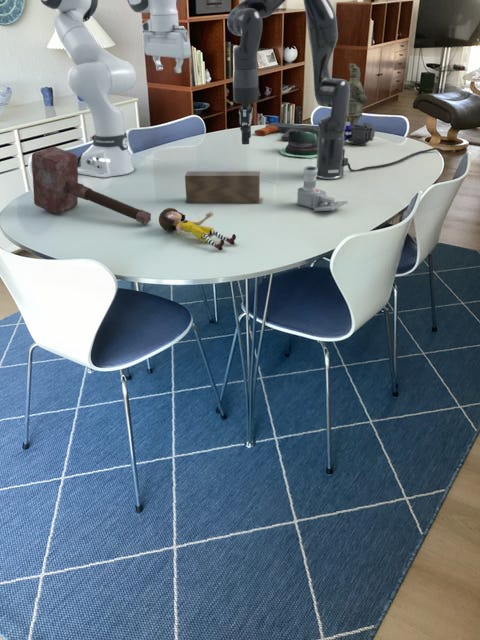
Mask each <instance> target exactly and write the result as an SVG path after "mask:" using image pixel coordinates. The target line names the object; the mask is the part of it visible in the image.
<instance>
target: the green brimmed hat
mask: <svg viewBox="0 0 480 640" xmlns="http://www.w3.org/2000/svg"><path fill="white" fill-rule="evenodd" d="M287 142H288V143H287V145H286V146H285V147H283V148H281V149H280V150H279V153H280V154H282V155H285V156H289V157H296V158H297V157H298V158H307V159H309V158H310V159H311V158H313V159H314V158H317V148H318V130H316V129H311V128H298V129H294V130H291V131H289V140H287Z"/></svg>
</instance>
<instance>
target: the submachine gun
mask: <svg viewBox="0 0 480 640" xmlns="http://www.w3.org/2000/svg"><path fill="white" fill-rule="evenodd" d="M318 126H319V125H311V124H300V123H299V124H297V123H285V122H268V124H266V125H265V126H264V127H262V128H259V129H256V130H254V134H255V135H257V136H266V135H268V134H272V133H276V132H277V133H279V132H280V133H284V134H282V135H281V137H280V140H281V141H288V140H289V131H291V130H294V129H298V128H311V129H316V130H318V128H319V127H318Z"/></svg>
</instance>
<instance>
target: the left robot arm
mask: <svg viewBox="0 0 480 640" xmlns="http://www.w3.org/2000/svg"><path fill="white" fill-rule="evenodd" d="M126 1H127V4H128V6H129V7H130V8H131V10H132V11H133V12H135V13H137V14H138V13H139V14H149V13H150V15H149V17H150V18H149V19H147V20H146V21H144V22H142V23H141V31H142V32H143V33H142V45H143V51H144V53H145V55H146V56H151V57H152V61H153V62H154V64H155V70H156V71H157V72H162V71H163V70H164V65H163V64H162V62H161V57H163V58H170V59H171V58H172V59H174V60H175V62H176V64H175V66H174V67H173V69H174V70H173V71H174V73H175V74H181V73H182V66H183V63H184V59H190V58H191V55H192V49H191V42H190V37H189V34H188V33H189V32H188V30H187V29H186V27H185V26H184V25H180V23H179V11H178V8H177V6H178V4H179V2H180V1H179V0H126ZM40 2H41V3H42V5H43V6H45V7H46V8H49V9H51V10H56V11H58V14H57V15H56V16H55V18H54V20H53V28H54V32H55V34H56V36H57V38H58V40H59V42H60V44H61V45H62V47H63V49H64V50H65V52H66V53H67V55H68V56H69V58H70V59H71V60H72V62H73V63H74V66H72V67H70V69H69V71H68V75H67V82H68V86H69V88H70V90H71V91H72V92H73V94H75V95H76V96H77V97H79V98H80V99H81V100H82V101H83V102H84V103H85V104H86V106H87V107H88V109H89V111H90V114H91V117H92V122H93V126H94V133H95V134H93V135H92V136H90V137H89V141H92V145H91V146H90V147H88V148H87V149H86V150H85V151H84V152H83V153H81V154H80V156H77V158H78V175H85V176H90V177H97V178H111V177H116V176H124V175H128V174H130V173H133V172H134V171H135V168H134V165H133V164H132V160H131V156H130V152H129V142H128V135H127V132H126V126H125V119H124V118H125V117H124V112H123V111H122V110H121V108H120V107H118V106H116V105H114V104H112V103H111V102H110V100H109V98H108V97H109V96H108V95H113V94H120V93H124V92H126V91H127V92H128V91H129V90H131V89H133V88H134V87H135V85H136V82H137V73H136V70H135V67H134V66H133V65H132V64H131V62H129V61H127V60H124V59H121V58H120V57H117V56H115V55H114V54H112V53H111V52H109V51H108V50H106V49H105V48H103V47H102V46H101V45H100V44H99V43H98V41H97V40H96V39H95V38H94V36H93V34H91V32H90V31H89V29H88V27H87V26H86V25H85V22H87V21H89V20H90V19H91V17H92V16H93V15H94V14H95V12H96V11H97V8H98V4H99V0H40ZM79 165H80V166H79Z"/></svg>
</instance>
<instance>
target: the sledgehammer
mask: <svg viewBox="0 0 480 640" xmlns="http://www.w3.org/2000/svg"><path fill="white" fill-rule="evenodd" d="M78 168H79V165H78V156H77V155H76V154H74V153H72V152H69V151H66V150H65V149H61V148H59V147H56V146H50V147H48V148H44V149H41V150H38V151H34V152H33V153H31V169H32V171H31V172H32V189H33V203H34V205H35V206H37V207H38V208H40V209H43V210H45V211H48V212H50V213H52V214H54V215H56V216H58V215H60V214H62V213H65V212H67V211H68V210H71V209H73V208H76V207H78V204H79V203H78V201H79V199H82V200H85V201H90V202H92V203H95V204H96V205H99V206H101V207H104V208H107V209H108V210H110V211H114V212H116V213H118V214H120V215H123V216H126V217H128V218H130V219H132V220H135V221H136V222H137V223H140V224H142V225H145V226H147V225H149V223H150V222H151V220H152V218H151V217H152V213H150V212H148V211H146V210H144V209H139V208H136V207H134V206H132V205H129V204H126V203H124V202H122V201H119V200H117V199H115V198H112V197H110V196H107V195H105V194H103V193H101V192H99V191H95V190H93V189H92V188H90V187H88V186H85V185H84V184H83V183H80V182H78V181H79V174H78Z"/></svg>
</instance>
